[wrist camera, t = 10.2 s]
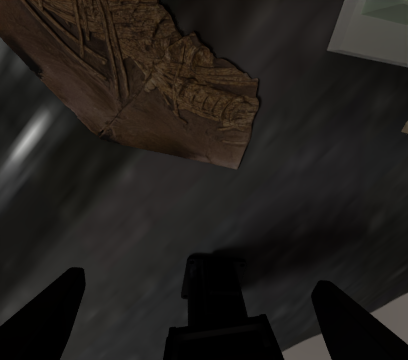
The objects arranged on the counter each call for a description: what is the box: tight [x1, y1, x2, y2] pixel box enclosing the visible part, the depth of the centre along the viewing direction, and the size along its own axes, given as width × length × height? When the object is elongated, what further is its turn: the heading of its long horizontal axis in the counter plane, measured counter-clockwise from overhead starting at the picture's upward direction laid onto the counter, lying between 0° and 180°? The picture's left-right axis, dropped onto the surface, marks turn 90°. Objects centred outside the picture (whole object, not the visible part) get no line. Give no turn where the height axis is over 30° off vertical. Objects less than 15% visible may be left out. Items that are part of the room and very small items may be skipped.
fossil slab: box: [0, 0, 259, 169], centre depth 15 cm, size 26×11×1 cm, turn 49°
